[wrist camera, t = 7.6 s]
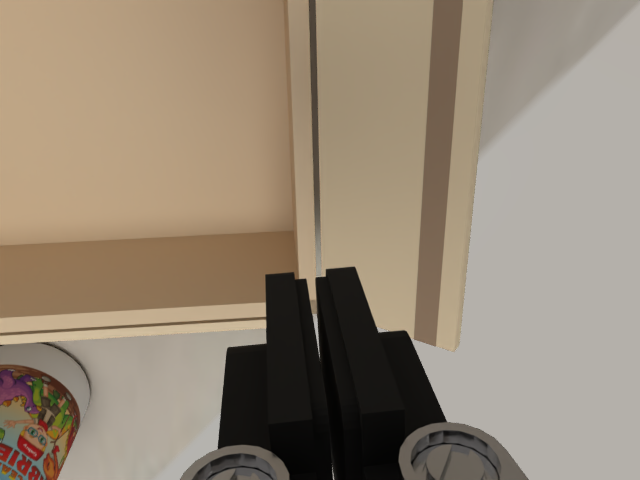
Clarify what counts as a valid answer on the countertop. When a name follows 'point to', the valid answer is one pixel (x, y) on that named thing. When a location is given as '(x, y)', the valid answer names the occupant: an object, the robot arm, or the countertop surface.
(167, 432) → the countertop surface
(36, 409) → the milk bottle
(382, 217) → the flap
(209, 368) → the countertop surface
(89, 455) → the countertop surface
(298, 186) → the carton
